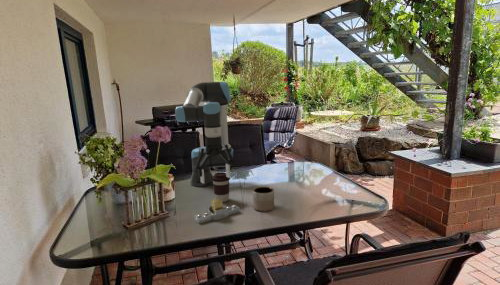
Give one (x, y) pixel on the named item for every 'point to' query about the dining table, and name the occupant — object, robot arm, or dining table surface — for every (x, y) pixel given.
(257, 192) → the planter
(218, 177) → the coffee cup
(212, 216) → the chain end
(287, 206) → the dining table surface
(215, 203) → the link peg
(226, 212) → the chain end
